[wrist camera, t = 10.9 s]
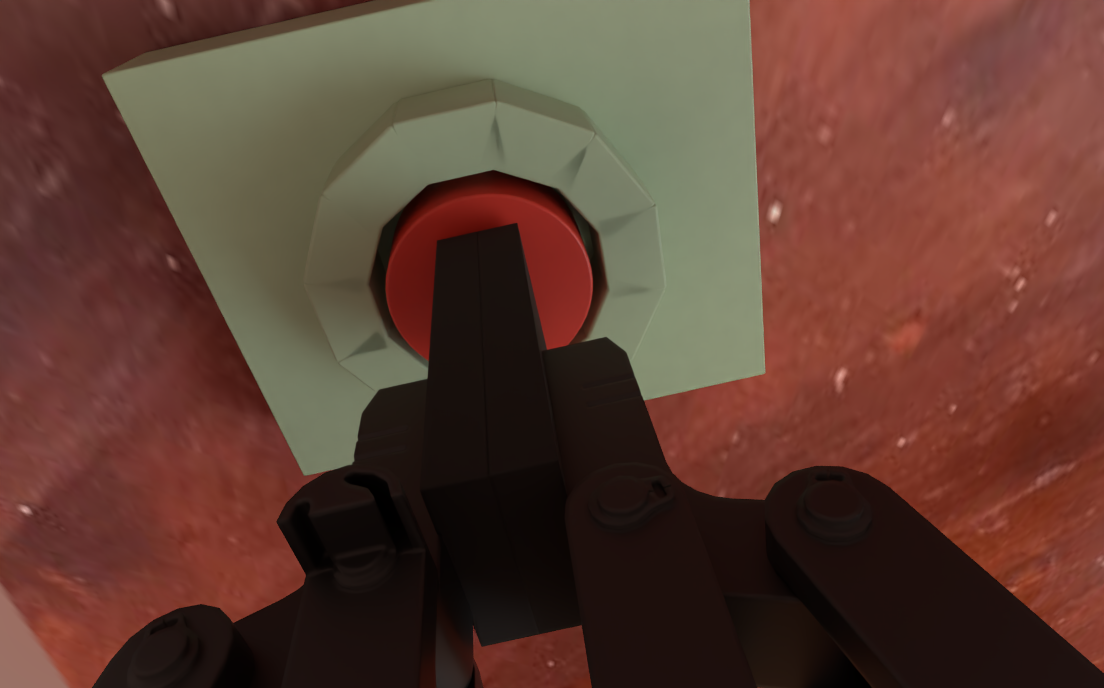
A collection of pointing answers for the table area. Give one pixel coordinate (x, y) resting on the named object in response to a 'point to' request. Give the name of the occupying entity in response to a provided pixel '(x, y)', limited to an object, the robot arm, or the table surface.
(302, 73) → the block
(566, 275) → the bell button
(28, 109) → the table surface
